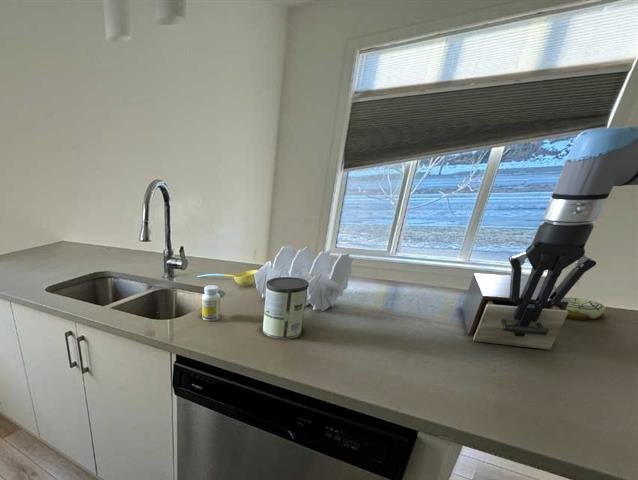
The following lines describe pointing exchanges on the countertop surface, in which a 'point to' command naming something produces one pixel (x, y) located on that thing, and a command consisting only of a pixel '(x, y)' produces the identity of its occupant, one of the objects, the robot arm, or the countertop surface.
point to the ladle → (239, 277)
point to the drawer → (501, 324)
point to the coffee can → (284, 307)
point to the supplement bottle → (211, 303)
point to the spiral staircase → (309, 274)
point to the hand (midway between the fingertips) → (518, 333)
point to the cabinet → (493, 295)
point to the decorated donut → (584, 309)
